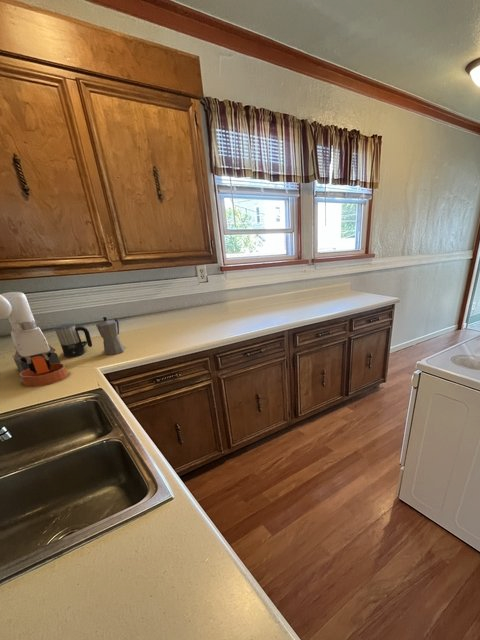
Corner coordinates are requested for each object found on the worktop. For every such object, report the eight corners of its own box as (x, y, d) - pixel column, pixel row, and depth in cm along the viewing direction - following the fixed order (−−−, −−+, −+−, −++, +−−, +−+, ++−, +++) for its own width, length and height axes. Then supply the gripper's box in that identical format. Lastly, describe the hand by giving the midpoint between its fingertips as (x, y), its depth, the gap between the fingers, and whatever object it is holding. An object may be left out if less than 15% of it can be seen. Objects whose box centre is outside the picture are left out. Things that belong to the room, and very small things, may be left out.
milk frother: (68, 358, 160) (57, 329, 153) (55, 352, 168) (44, 324, 162) (98, 351, 170) (89, 322, 163) (85, 345, 178) (76, 318, 172)
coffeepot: (115, 356, 161) (105, 320, 153) (98, 356, 162) (86, 320, 154) (132, 346, 175) (123, 313, 167) (116, 346, 176) (106, 313, 168)
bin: (27, 378, 138) (20, 362, 135) (19, 371, 146) (12, 355, 142) (62, 369, 147) (56, 353, 144) (53, 363, 155) (47, 347, 151)
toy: (37, 374, 131) (32, 360, 128) (34, 372, 133) (29, 358, 131) (49, 371, 134) (44, 357, 131) (46, 369, 136) (41, 355, 133)
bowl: (30, 391, 126) (25, 380, 124) (20, 382, 135) (15, 371, 133) (74, 379, 137) (70, 368, 134) (61, 371, 145) (57, 360, 143)
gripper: (46, 320, 133) (61, 363, 141) (-6, 328, 122) (13, 374, 130) (52, 323, 129) (67, 366, 137) (-2, 331, 117) (18, 378, 125)
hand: (41, 370), depth 133 cm, fingers closed on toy, 4 cm apart
